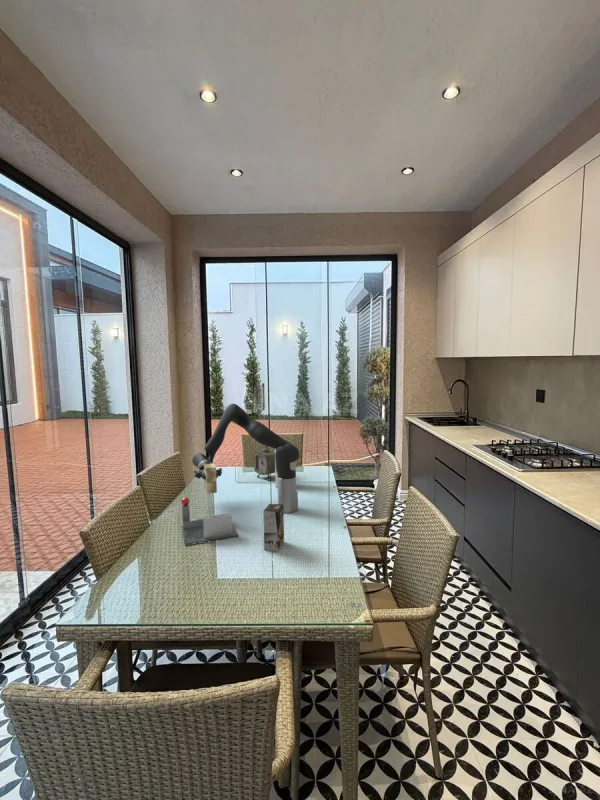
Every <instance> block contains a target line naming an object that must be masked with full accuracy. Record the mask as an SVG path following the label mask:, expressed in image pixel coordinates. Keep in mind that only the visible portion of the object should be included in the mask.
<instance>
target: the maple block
mask: <svg viewBox="0 0 600 800" xmlns="http://www.w3.org/2000/svg"><path fill="white" fill-rule="evenodd" d="M216 470H217V467H216V465H215V463H213V462H212V464H204V473H205V475H206V480H204V490H205V492H206V494H207V495H210V494H216V493H217V494H218V490H217V489H218V488H217V485H218V484H217V479H216Z"/></svg>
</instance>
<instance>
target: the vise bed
mask: <svg viewBox="0 0 600 800" xmlns="http://www.w3.org/2000/svg"><path fill="white" fill-rule="evenodd" d="M225 514H226V515H220V514H218V515H219V516H213V515H211V516H212V517H206V516H204V517H205V518H203V526H199V527H192V528H185V529H183V525H180V528H182V529H181V534H182V533H183V534H182V539H183V543H184V546H185V545H188V544H193V543H199V542H206V543H209V542H208V541H212V542H215V541H216V540H218V541H222V539H223V540H228V539H234V538H238V537H239V533H238V532H237V531H236V528H235V527H234V524H233V516H232V513H229V514H227V513H225ZM188 546H189V545H188Z"/></svg>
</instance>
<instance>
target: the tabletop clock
mask: <svg viewBox="0 0 600 800" xmlns="http://www.w3.org/2000/svg"><path fill="white" fill-rule="evenodd" d="M261 446H262V449H261V450H260V451H256V452H254V454H253V468H254V472H255V473H256V474H258V475H256V478H260V475H261V476H266V477H267V478H266V481H268V482H269V481H270V478H271V476H270V475H271V474H275V452H273V451H270V449H269V447H268V446H265V445H262V444H261Z"/></svg>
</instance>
